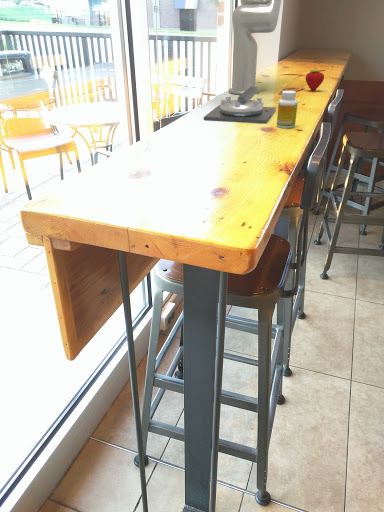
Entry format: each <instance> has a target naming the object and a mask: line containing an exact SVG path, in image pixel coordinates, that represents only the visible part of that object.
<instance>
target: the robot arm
mask: <svg viewBox="0 0 384 512" xmlns="http://www.w3.org/2000/svg"><path fill="white" fill-rule="evenodd" d="M281 5H282V0H240V5H238V6H236V7H235V8H234V10H233V12H232V16H231V17H232V18H231V21H232V30H233V31H232V32H233V56H232V57H233V58H232V59H233V63H232V87H231V88H229V89H228V93H229V94H233V95H239V96H240V95H241V94H242V93H244V92H245V91H246V90H247V89H248V88H250V87H256V78H257V61H258V43H257V41H256V39H255V38H254V36H253V34H267V33H268V34H269V33H272V32H274V31H276V28H277V25H278V21H279V15H280V10H281ZM258 93H259V88H257V93H256V94H258Z"/></svg>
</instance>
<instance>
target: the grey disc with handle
mask: <svg viewBox="0 0 384 512" xmlns="http://www.w3.org/2000/svg"><path fill="white" fill-rule="evenodd" d="M257 89H258V86H255V87H250V88H248V89H247V90H246V91H245V92H244V93H242V94H241V95H240V94H239V95H238V97H237V99H232V96H225V99H221V102H220V103H219V105H220V112H221V113H223V114H226V115H232V116H251V115H258V114H261V113H262V112H263V107H264V103H263V102H262V99H263V98H262V97H257V98H256V100H255V99H253V100H251V99H252V98H253V97H255V95H257V94H258V93H257Z"/></svg>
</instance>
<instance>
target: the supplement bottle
mask: <svg viewBox="0 0 384 512" xmlns="http://www.w3.org/2000/svg"><path fill="white" fill-rule="evenodd" d="M296 95H297V92H296V91H294V90H283V91H281V99H279V100H278V103H277V104H278V105H277V117H276V127H277V128H280V129H293V128H295V126H296V119H297V112H298V103H299V102H298V100H297V99H296Z"/></svg>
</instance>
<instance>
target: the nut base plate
mask: <svg viewBox="0 0 384 512" xmlns="http://www.w3.org/2000/svg"><path fill="white" fill-rule="evenodd" d="M276 109H277V108H276V107H275V106H263V112H262V113H261V114H258V115H251V116H232V115H226V114H223V113H221V112H220V104H219V105H217V106H216V107H214V108H213V109H212V110H211V111H209V112H208V113H207V114H206V115H205V116H203V121H212V122H213V121H215V122H216V121H217V122H230V123H231V122H232V123H247V124H268V122H269V120H270V119H271V118H272V116H273V115H274V114H275V112H276Z"/></svg>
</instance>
